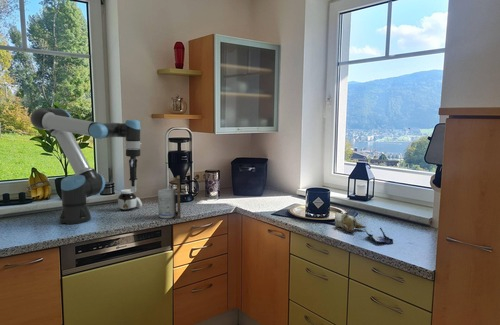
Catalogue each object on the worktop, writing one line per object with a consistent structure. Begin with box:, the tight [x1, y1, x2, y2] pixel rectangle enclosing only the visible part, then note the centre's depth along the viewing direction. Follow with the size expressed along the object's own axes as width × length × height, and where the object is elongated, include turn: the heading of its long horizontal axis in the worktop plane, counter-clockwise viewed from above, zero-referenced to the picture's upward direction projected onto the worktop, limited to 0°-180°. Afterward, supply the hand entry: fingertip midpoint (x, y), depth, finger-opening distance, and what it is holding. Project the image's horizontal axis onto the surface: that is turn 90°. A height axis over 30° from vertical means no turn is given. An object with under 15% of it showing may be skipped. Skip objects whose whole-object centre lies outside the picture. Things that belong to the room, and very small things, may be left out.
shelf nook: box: [169, 175, 182, 220], centre depth 204 cm, size 5×10×22 cm, turn 11°
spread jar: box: [117, 188, 143, 212], centre depth 221 cm, size 12×11×12 cm
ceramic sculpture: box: [334, 211, 367, 232], centre depth 182 cm, size 11×9×15 cm
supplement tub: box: [157, 188, 177, 219], centre depth 204 cm, size 10×10×15 cm
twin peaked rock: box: [363, 227, 394, 245], centre depth 165 cm, size 12×7×12 cm
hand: (133, 191), depth 202 cm, fingers closed
